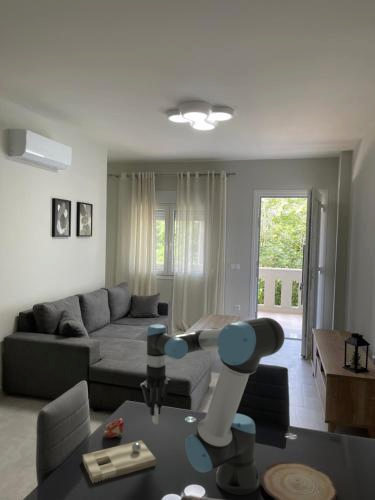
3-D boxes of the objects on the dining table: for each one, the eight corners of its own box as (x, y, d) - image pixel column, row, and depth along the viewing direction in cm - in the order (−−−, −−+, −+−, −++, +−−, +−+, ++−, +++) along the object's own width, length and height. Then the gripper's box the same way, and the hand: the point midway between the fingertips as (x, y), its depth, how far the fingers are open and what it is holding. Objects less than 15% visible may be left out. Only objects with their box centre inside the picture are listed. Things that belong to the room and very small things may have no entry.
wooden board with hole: (155, 465, 149) (155, 458, 149) (92, 483, 138) (92, 476, 138) (141, 446, 162) (141, 440, 162) (82, 461, 151) (82, 454, 151)
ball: (142, 453, 152) (142, 444, 152) (133, 455, 151) (133, 446, 151) (139, 448, 156) (139, 440, 155) (130, 451, 154) (130, 442, 154)
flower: (131, 429, 172) (122, 413, 174) (126, 435, 163) (116, 418, 165) (113, 441, 172) (104, 425, 174) (107, 448, 163) (97, 431, 165)
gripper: (167, 359, 162) (165, 415, 163) (137, 363, 156) (136, 421, 157) (175, 364, 155) (173, 423, 157) (144, 369, 149) (143, 430, 150)
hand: (155, 422), depth 157 cm, fingers closed
